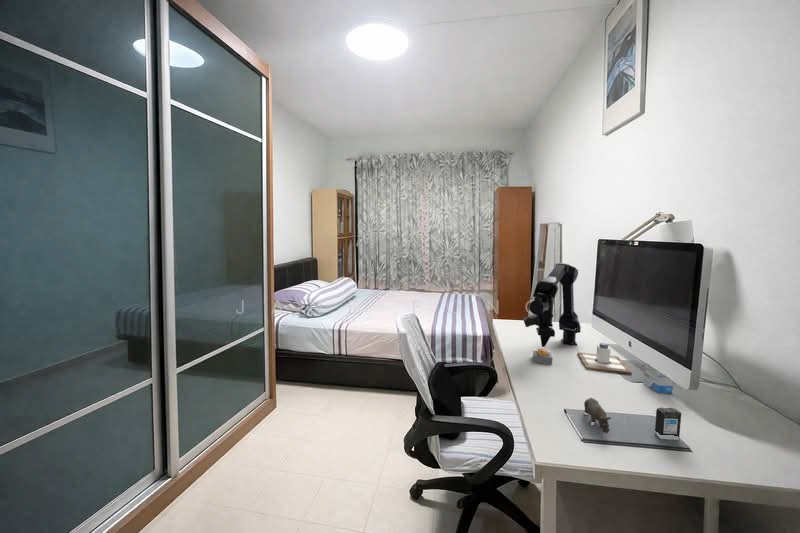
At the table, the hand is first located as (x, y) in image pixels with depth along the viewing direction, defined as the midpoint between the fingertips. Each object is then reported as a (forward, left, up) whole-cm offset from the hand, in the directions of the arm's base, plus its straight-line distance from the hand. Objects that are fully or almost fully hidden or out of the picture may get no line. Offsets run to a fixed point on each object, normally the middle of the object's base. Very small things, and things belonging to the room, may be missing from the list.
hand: (543, 346), depth 148 cm
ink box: (+14, +37, -6) cm, 40 cm away
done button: (0, 0, -5) cm, 5 cm away
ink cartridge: (+49, +27, -6) cm, 56 cm away
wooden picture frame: (-5, +24, -6) cm, 25 cm away
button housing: (0, 0, -6) cm, 6 cm away
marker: (-5, +24, -5) cm, 25 cm away
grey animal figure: (+48, +10, -6) cm, 50 cm away
